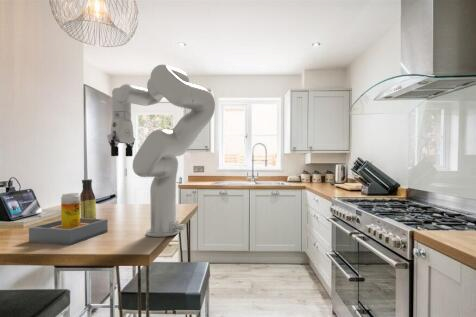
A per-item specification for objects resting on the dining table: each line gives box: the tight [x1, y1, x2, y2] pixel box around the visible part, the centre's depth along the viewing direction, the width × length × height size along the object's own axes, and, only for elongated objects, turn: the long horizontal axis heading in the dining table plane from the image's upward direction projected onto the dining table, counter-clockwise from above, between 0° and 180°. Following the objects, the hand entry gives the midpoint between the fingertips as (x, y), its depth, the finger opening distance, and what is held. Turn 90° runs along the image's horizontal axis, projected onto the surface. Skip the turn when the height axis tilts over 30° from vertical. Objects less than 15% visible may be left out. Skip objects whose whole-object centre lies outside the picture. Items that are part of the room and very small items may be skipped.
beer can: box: [60, 192, 81, 229], centre depth 107 cm, size 6×6×15 cm
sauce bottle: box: [79, 178, 97, 219], centre depth 132 cm, size 7×6×20 cm
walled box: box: [28, 217, 109, 246], centre depth 107 cm, size 18×18×5 cm
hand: (122, 156), depth 125 cm, fingers open, 9 cm apart
